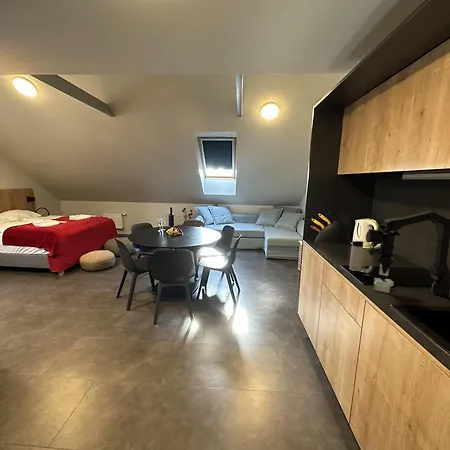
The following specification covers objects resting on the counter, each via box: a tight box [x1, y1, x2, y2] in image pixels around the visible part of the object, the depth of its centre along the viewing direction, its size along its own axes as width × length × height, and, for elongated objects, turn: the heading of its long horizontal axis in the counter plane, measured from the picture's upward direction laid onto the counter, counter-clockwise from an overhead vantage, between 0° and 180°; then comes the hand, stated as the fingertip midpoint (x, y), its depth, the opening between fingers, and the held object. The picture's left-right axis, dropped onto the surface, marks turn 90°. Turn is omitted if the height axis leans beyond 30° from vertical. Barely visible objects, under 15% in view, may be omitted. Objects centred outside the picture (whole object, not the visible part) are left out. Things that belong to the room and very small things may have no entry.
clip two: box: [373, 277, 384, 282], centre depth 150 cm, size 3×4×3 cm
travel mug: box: [348, 240, 364, 272], centre depth 169 cm, size 6×7×20 cm
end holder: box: [373, 281, 391, 294], centre depth 142 cm, size 7×7×3 cm
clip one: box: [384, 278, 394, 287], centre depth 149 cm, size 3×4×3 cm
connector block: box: [378, 263, 390, 277], centre depth 141 cm, size 4×4×6 cm
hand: (384, 272), depth 141 cm, fingers closed on connector block, 4 cm apart
